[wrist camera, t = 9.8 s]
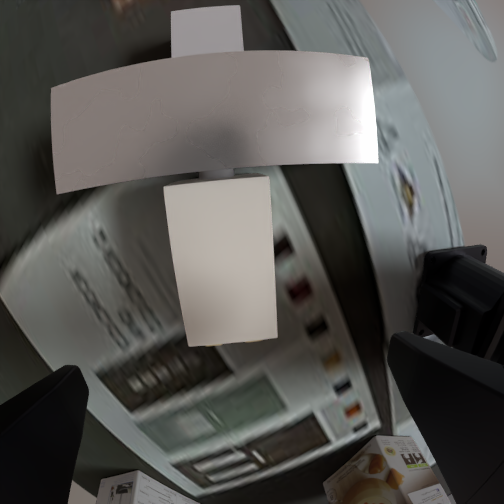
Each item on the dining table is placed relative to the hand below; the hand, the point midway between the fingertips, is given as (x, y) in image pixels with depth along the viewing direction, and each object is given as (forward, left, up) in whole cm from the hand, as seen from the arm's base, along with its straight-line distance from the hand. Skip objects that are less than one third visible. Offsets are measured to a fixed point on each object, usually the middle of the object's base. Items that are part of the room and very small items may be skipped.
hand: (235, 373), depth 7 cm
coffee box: (-12, +24, -10) cm, 28 cm away
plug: (0, -1, -9) cm, 9 cm away
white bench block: (0, -7, -9) cm, 12 cm away
